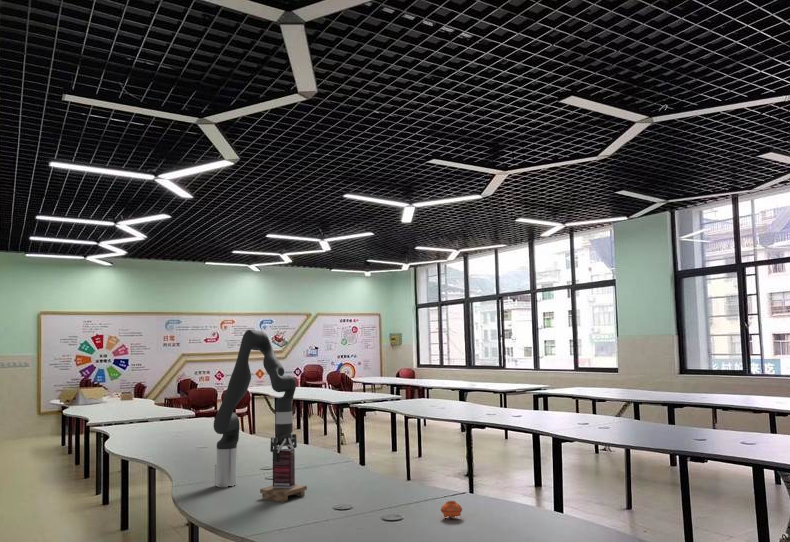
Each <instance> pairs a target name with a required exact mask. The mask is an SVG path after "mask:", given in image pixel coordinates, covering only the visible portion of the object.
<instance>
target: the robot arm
mask: <svg viewBox="0 0 790 542" xmlns="http://www.w3.org/2000/svg"><path fill="white" fill-rule="evenodd" d="M251 351H259V352H261V353H262V355H263V361H262V363H263V367H264V370H265V372H266V373H267V375H268V376H269V380H270V384H271V389H272V390H274V392H276V393H283V395H282V396H281V397H278V398H276V400H275V415H274V416H275V418H274V427H275V428H274V433H275V434H276V437H271V438H270V449H269V450H270V452H271V453H272V454H273V453H274V461H275V462H279V452H280V450H281V449H283V447H287V448H286V449H296V448H297V447H298V445H297V442H298V441H297V440H298V439H297V434H296V433H293V431H294V429H293V427H294V426H293V425H294V424H293V423H294V422H293V421H294V420H293V418H294V417H293V400H294V396H295V391H296V389H297V380H296V378H295V376H293V375H284V374H285V368H284V366H283V365H282V363H281V362H280V361H279V359H278V357H277V355H276V353H275V351H274V349H273V345H272V343H271V341H270V338H269V336H268V335H267V333H266V332H264V331H261V330H255V329H247V330H245V332H244V333H243V336H242V338H241V341H240V346H239V350H238V354H237V358H236V362H235V364H234V367H233V369H232V373H231V376H230V379H229V382H228V383H227V384H228V385H227V388H226V391H225V394H224V397H223V398H222V402H221V404H220V406H219V408H218V410H217V412H216V415H215V418H214V419H213V420H214V421H213V430H214V432H215V433H216V434H218V435H222V437H221V438H220V439H219V440H218V441H217V443H216V464H215V465H214V486H215V485H216V486H217V488H229V487H228V486H232V487H235V486H237V472H238V470H237V469H238V468H237V466H238V465H237V464H238V463H237V460H238V457H237V456H238V453H237V452H238V448H237V447H238V443H239V439H240V418H239V416H238V415H237V414H236V413H235V412H234V411H235V409H236V406H237V405H238V404H239V402H240V401H241V400H242V398H244V396H245V395H246V394H247V391H248V389H249V386H250V383H251V380H252V373H251V369H250V364H249V358H250V354H251ZM277 449H278V450H277ZM234 485H235V486H234ZM216 486H215V487H216Z"/></svg>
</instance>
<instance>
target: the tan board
mask: <svg viewBox="0 0 790 542" xmlns="http://www.w3.org/2000/svg"><path fill="white" fill-rule="evenodd" d="M307 490H308V486H307V485H303V484H302V485H301V484H295V487H293V488H291V489H288V488H273V485H270V486H265V487H263V488H260V489H259V493H260V494H262V495H261V497H262V500H266V499H268V500H267V501H273V500H274V501H273V502H279V501H281V502H280V503H285V501H286V502H288V499H289V498H288V496H294V495H299V496H298V497H303V496H302V495H304V496H305V491H307Z"/></svg>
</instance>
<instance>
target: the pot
mask: <svg viewBox="0 0 790 542" xmlns="http://www.w3.org/2000/svg"><path fill="white" fill-rule="evenodd" d="M462 511H463V508H462V506H461V505H460V503H458V502H457V501H455V500H450V501H449V500H448V501H446V502H445V503H444V504H443V505H442V506H441V507H440V512H441V513H442V514H443V518H444V517H447V516H449V517H447V518H455V516H456V517H457V516H461V515H462Z"/></svg>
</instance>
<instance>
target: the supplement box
mask: <svg viewBox="0 0 790 542" xmlns="http://www.w3.org/2000/svg"><path fill="white" fill-rule="evenodd" d="M295 449H296V448H294V449H288V448H282V449H281V450H280V452H279V462H275V461H274V453H273V452H272V486H273V488H288V489H291V488H293V487H295V483H296V479H295V478H296V477H295V476H296V475H295V474H296V471H295V467H296V465H295V462H296V461H295V460H296V459H295V457H296V455H295V452H296V451H295ZM277 450H278V449H277Z"/></svg>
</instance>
